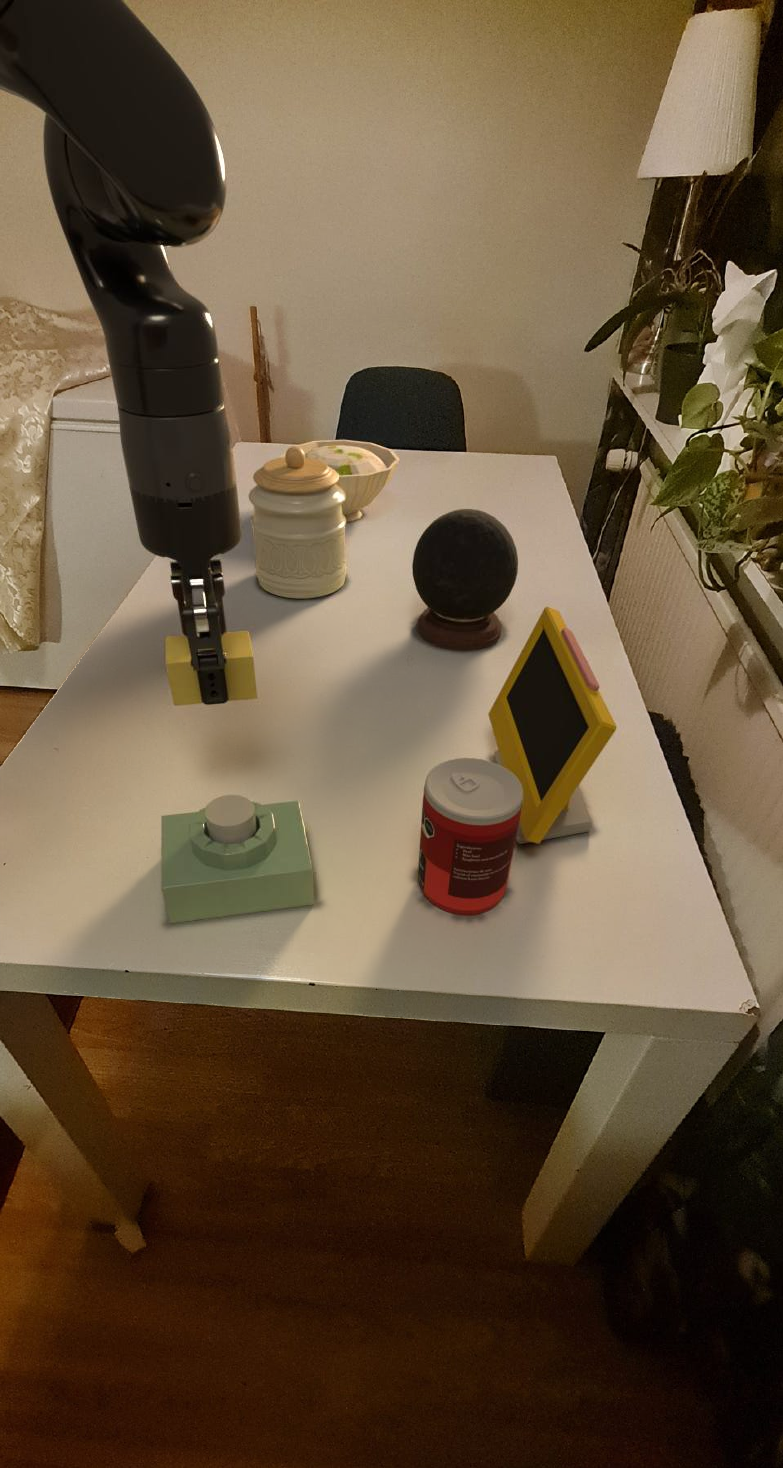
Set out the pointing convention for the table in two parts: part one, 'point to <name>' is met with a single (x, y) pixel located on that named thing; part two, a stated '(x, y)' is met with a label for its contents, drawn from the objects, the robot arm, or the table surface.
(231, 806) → the grey push button
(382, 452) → the bowl
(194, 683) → the sponge
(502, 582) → the sphere on stand
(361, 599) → the table surface
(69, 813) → the table surface
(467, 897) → the canned food
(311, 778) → the table surface
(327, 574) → the jar
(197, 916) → the push button box
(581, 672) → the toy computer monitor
